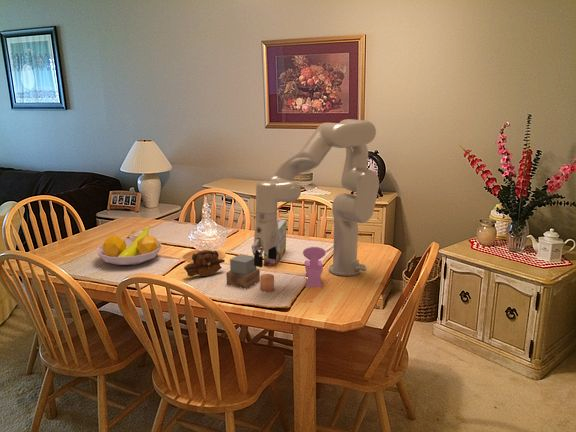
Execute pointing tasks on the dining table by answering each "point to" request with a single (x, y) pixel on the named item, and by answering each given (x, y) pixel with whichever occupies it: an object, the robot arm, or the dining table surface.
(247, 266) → the slate block
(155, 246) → the fruit bowl
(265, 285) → the terracotta cylinder
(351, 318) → the dining table surface
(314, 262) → the pink tall piece
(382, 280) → the dining table surface
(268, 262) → the snack box
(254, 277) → the walnut slab
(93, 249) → the dining table surface
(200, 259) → the wooden carving
